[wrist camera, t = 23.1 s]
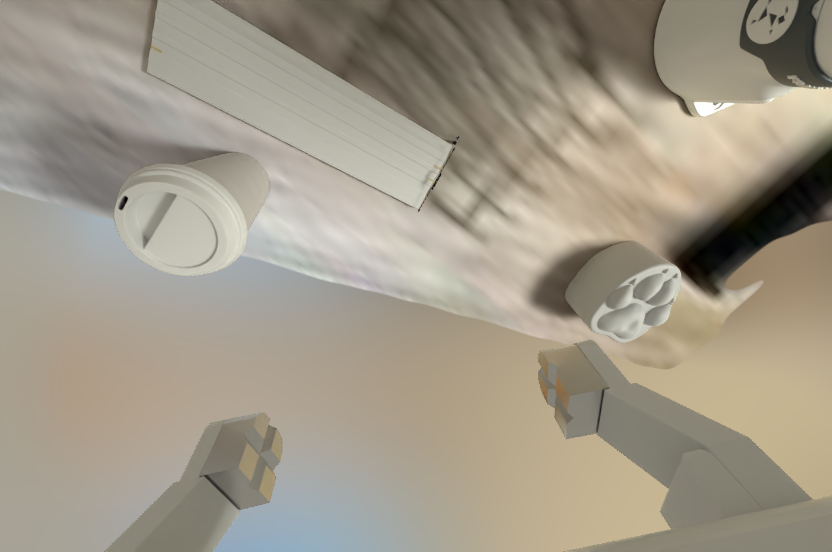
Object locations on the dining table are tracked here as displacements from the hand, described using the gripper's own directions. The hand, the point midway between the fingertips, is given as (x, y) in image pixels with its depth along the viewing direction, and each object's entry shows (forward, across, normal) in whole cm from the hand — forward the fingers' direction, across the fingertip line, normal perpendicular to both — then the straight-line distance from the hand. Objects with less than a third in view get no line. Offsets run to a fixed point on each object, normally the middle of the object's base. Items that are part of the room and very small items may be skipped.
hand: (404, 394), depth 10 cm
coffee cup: (+34, +17, -1) cm, 38 cm away
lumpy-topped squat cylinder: (+34, -30, +25) cm, 52 cm away
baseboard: (+35, +6, -7) cm, 36 cm away
